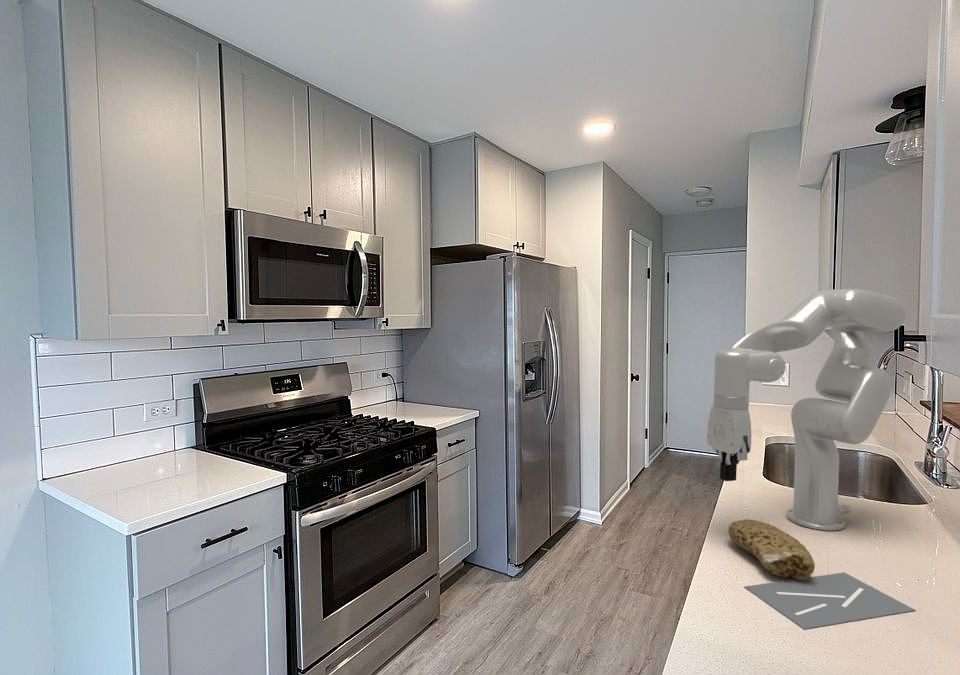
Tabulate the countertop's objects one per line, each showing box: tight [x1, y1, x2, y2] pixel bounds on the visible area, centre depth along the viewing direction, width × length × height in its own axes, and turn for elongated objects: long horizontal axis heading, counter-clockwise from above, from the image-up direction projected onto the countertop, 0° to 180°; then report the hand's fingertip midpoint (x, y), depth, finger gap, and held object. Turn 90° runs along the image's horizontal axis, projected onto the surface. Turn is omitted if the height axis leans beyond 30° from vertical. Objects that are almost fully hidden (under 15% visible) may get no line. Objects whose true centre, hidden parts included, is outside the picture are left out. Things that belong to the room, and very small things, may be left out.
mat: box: [744, 571, 916, 630], centre depth 97 cm, size 24×14×1 cm, turn 103°
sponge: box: [727, 519, 816, 581], centre depth 112 cm, size 13×8×20 cm
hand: (728, 479), depth 123 cm, fingers closed
